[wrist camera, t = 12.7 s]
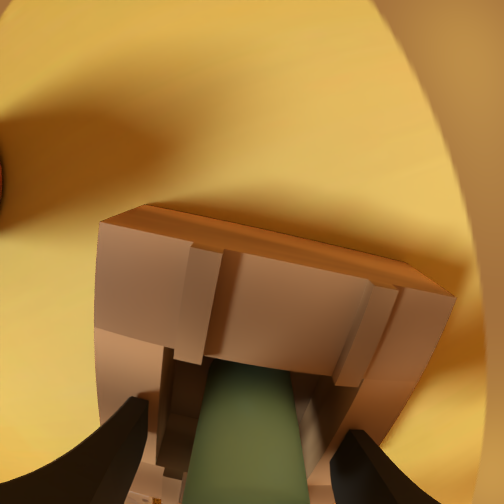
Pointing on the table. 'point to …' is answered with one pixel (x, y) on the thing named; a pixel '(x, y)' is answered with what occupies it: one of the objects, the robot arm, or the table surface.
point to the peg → (247, 439)
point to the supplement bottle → (0, 181)
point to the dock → (254, 332)
